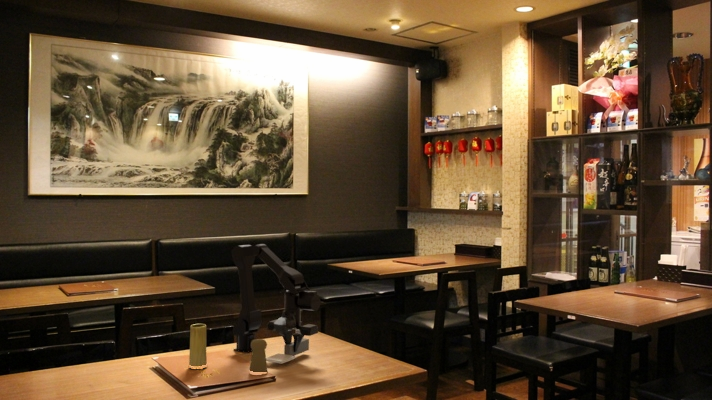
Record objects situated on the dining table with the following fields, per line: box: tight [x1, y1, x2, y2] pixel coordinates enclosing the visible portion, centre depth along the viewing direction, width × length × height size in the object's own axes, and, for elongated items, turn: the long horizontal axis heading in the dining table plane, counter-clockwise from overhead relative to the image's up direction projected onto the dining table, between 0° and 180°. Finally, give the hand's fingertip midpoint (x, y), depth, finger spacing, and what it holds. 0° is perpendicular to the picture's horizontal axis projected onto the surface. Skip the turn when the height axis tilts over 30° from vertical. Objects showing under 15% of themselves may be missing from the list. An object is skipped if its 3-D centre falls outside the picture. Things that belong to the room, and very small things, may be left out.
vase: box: [188, 323, 208, 366], centre depth 201 cm, size 6×6×14 cm
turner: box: [266, 337, 310, 364], centre depth 212 cm, size 7×20×4 cm, turn 151°
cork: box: [249, 338, 268, 374], centre depth 196 cm, size 6×6×11 cm
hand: (292, 351), depth 213 cm, fingers closed on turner, 2 cm apart
